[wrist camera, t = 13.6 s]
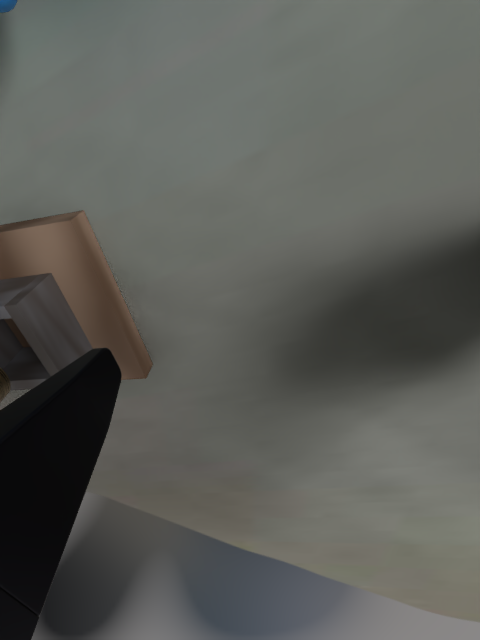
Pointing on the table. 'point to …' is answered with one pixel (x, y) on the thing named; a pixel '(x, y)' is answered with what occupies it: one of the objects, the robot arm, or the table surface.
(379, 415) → the table surface
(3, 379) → the bronze post
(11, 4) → the alarm clock
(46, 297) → the post stand
